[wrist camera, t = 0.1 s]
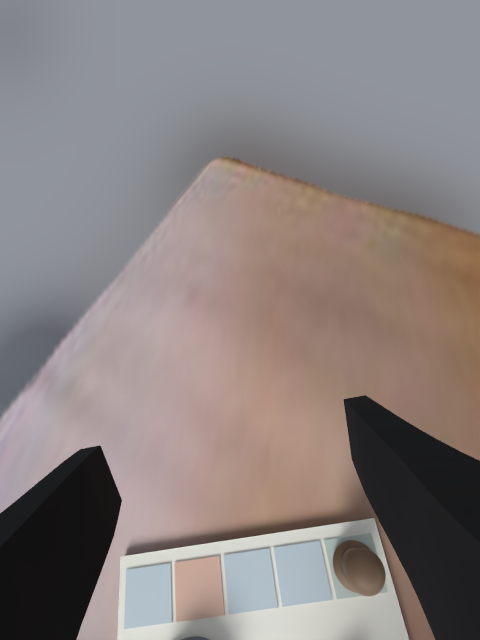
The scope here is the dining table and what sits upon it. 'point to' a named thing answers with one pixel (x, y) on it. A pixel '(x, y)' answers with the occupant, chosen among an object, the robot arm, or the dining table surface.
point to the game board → (256, 590)
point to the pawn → (358, 568)
